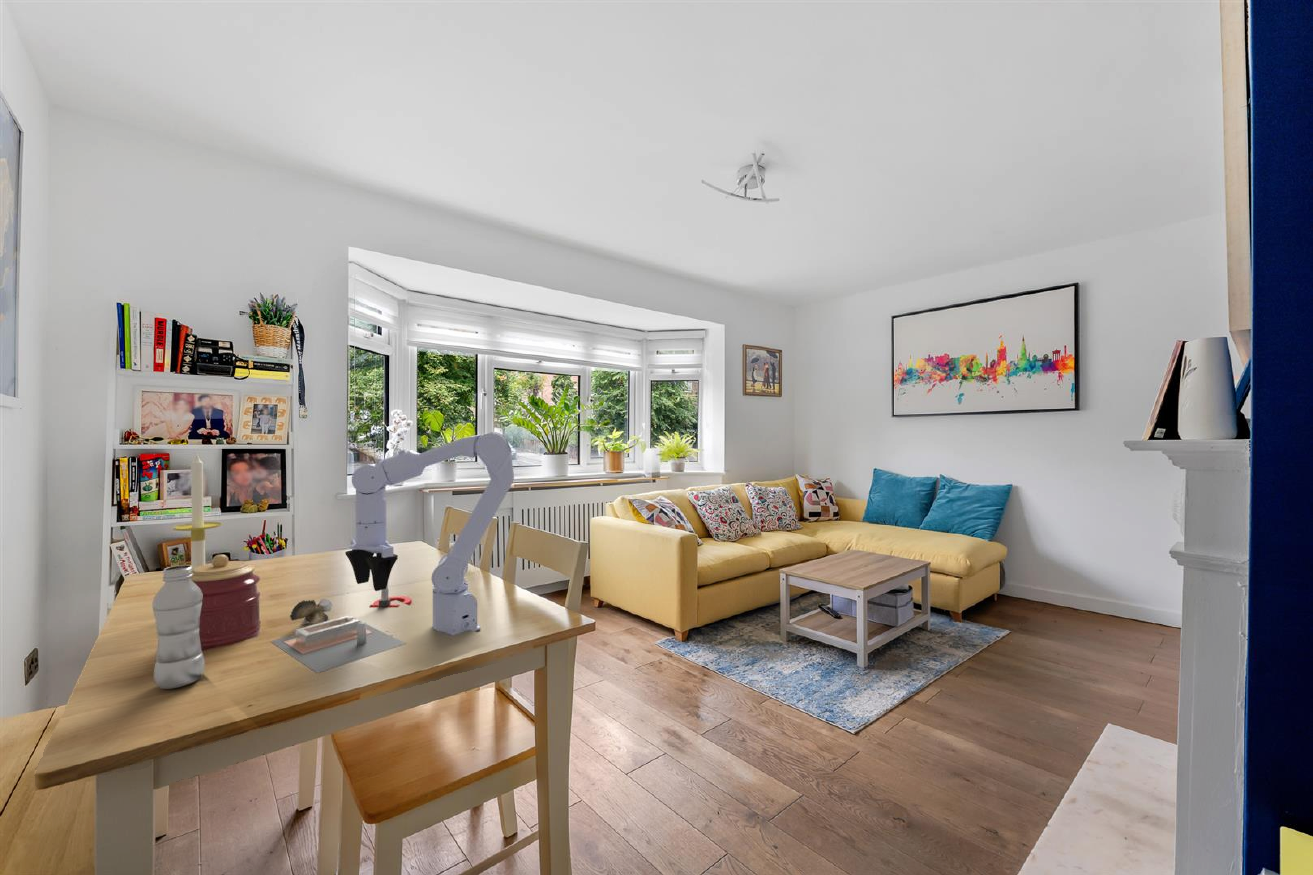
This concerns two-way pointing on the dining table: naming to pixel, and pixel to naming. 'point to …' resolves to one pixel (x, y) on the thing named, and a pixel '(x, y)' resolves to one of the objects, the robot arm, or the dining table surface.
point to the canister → (227, 602)
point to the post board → (339, 648)
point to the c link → (326, 631)
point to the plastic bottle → (178, 629)
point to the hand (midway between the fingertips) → (371, 586)
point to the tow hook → (389, 600)
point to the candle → (197, 516)
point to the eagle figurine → (311, 611)
